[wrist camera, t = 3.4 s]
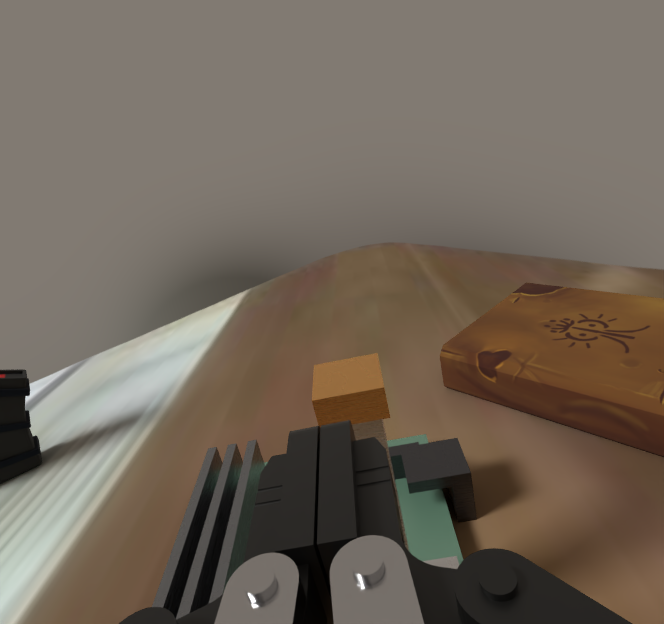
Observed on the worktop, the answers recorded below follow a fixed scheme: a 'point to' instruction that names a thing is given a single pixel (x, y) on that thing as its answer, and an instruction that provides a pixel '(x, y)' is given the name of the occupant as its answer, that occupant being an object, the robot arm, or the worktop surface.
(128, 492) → the worktop surface
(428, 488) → the heatsink
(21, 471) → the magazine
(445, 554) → the board
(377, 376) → the clip lever
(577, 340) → the diary
